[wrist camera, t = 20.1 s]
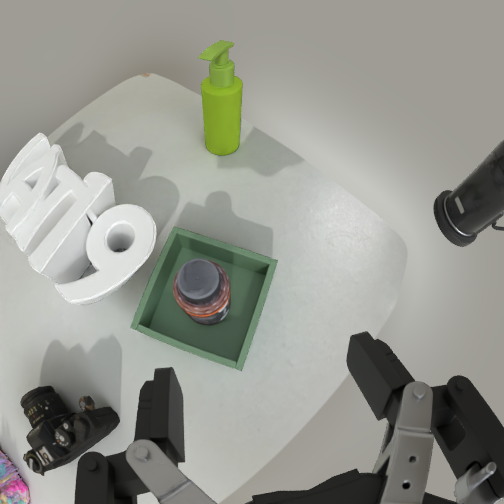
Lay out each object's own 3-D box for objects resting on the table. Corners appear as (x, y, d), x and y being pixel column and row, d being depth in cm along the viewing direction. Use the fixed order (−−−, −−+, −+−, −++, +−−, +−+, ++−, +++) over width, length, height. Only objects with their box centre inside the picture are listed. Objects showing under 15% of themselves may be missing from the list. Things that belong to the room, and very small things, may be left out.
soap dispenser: (195, 152, 46) (184, 51, 28) (216, 127, 49) (215, 32, 30) (225, 164, 46) (225, 60, 27) (245, 138, 48) (253, 40, 29)
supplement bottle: (239, 313, 36) (242, 293, 26) (197, 334, 35) (182, 322, 24) (218, 273, 38) (213, 238, 27) (177, 292, 36) (156, 264, 26)
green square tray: (272, 273, 39) (277, 260, 34) (240, 369, 34) (241, 370, 29) (180, 242, 40) (173, 225, 35) (143, 332, 35) (129, 327, 30)
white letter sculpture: (8, 212, 40) (-21, 184, 30) (63, 153, 45) (42, 117, 35) (108, 343, 34) (69, 335, 24) (182, 254, 39) (167, 219, 30)
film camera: (63, 353, 32) (22, 346, 23) (128, 406, 31) (97, 418, 22) (26, 434, 26) (-12, 442, 17) (84, 487, 25) (52, 509, 15)
